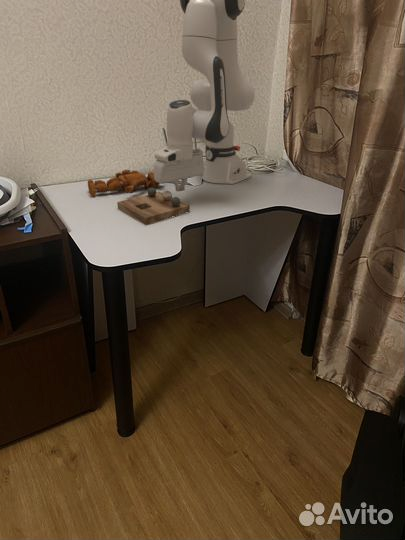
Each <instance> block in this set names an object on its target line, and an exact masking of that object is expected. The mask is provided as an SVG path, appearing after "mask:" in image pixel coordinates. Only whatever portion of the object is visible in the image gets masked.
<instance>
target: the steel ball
mask: <svg viewBox="0 0 405 540" xmlns="http://www.w3.org/2000/svg"><path fill="white" fill-rule="evenodd" d="M161 193H162V197H163V199H164V200H170V199H171V197H172V198H173V193H172V192H171V191H170V190H163V192H161Z"/></svg>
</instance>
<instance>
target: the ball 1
mask: <svg viewBox="0 0 405 540" xmlns="http://www.w3.org/2000/svg"><path fill="white" fill-rule="evenodd" d="M156 192H157V190H156V188H155V187H154V188H149V187H148V188H147V195H149V196H155V195H156Z"/></svg>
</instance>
